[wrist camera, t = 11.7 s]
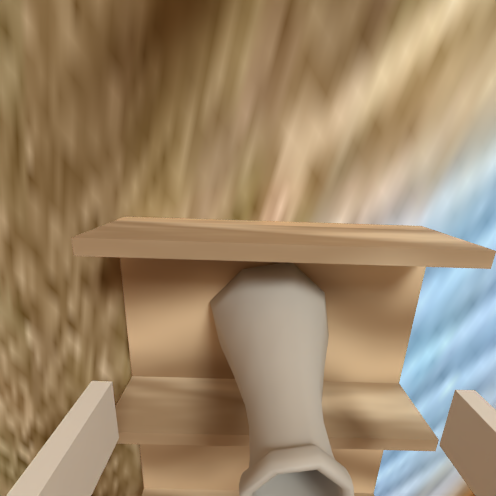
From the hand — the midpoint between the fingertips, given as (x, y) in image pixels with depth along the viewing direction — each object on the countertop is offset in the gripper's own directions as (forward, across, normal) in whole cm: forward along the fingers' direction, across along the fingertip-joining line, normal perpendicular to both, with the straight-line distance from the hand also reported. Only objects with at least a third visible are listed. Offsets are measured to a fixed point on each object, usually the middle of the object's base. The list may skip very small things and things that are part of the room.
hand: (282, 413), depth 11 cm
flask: (+7, 0, 0) cm, 7 cm away
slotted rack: (+8, 0, +5) cm, 9 cm away
